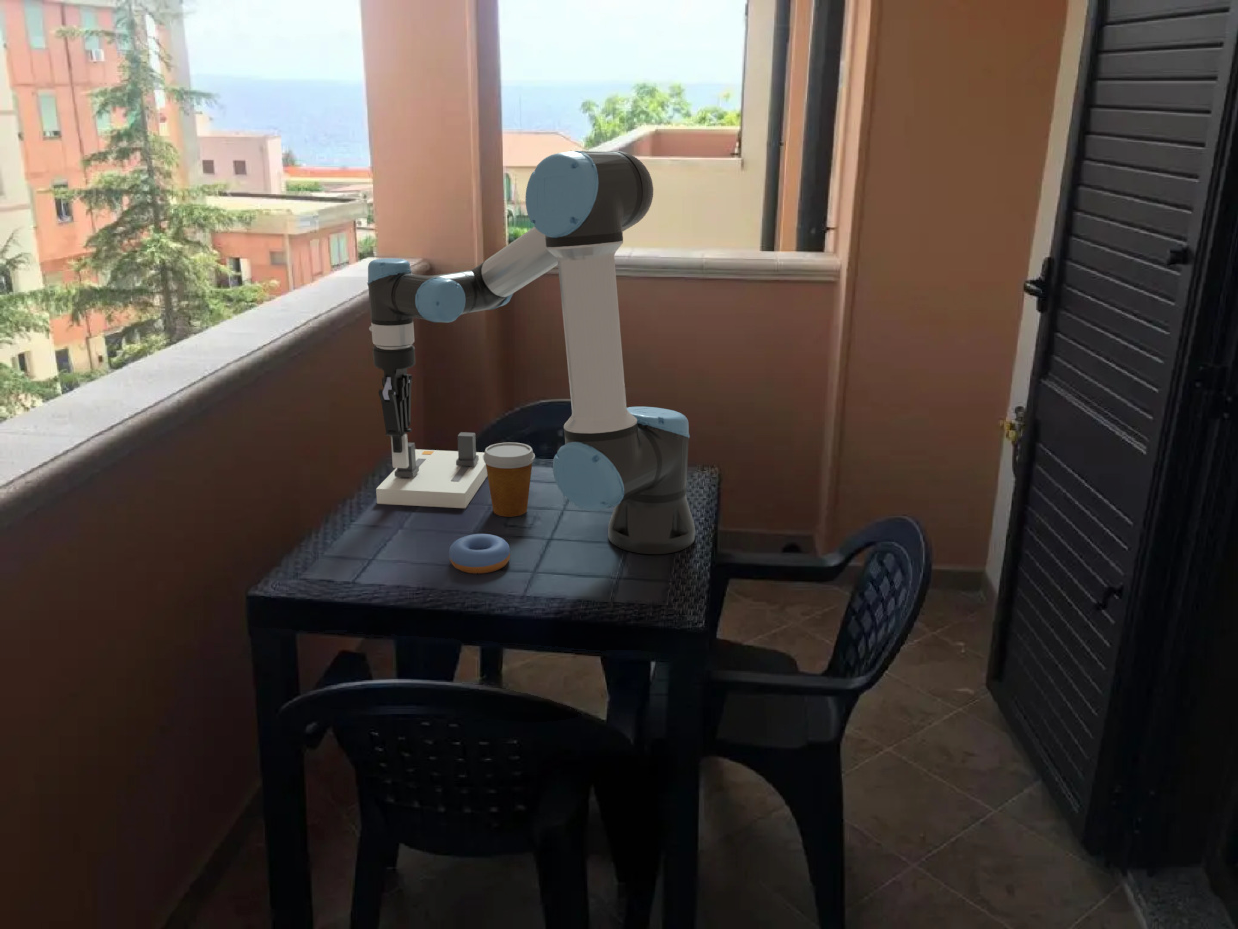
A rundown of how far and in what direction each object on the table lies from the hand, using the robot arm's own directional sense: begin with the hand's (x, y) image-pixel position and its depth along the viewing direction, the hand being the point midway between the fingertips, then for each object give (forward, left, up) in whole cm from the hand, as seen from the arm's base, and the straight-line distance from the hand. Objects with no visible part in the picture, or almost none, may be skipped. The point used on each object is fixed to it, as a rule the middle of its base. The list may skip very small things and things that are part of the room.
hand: (400, 466), depth 186 cm
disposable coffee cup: (-5, -22, -6) cm, 23 cm away
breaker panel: (+7, -5, -6) cm, 11 cm away
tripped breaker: (+3, 0, -3) cm, 4 cm away
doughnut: (-28, -22, -6) cm, 36 cm away
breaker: (+11, -10, -3) cm, 15 cm away
